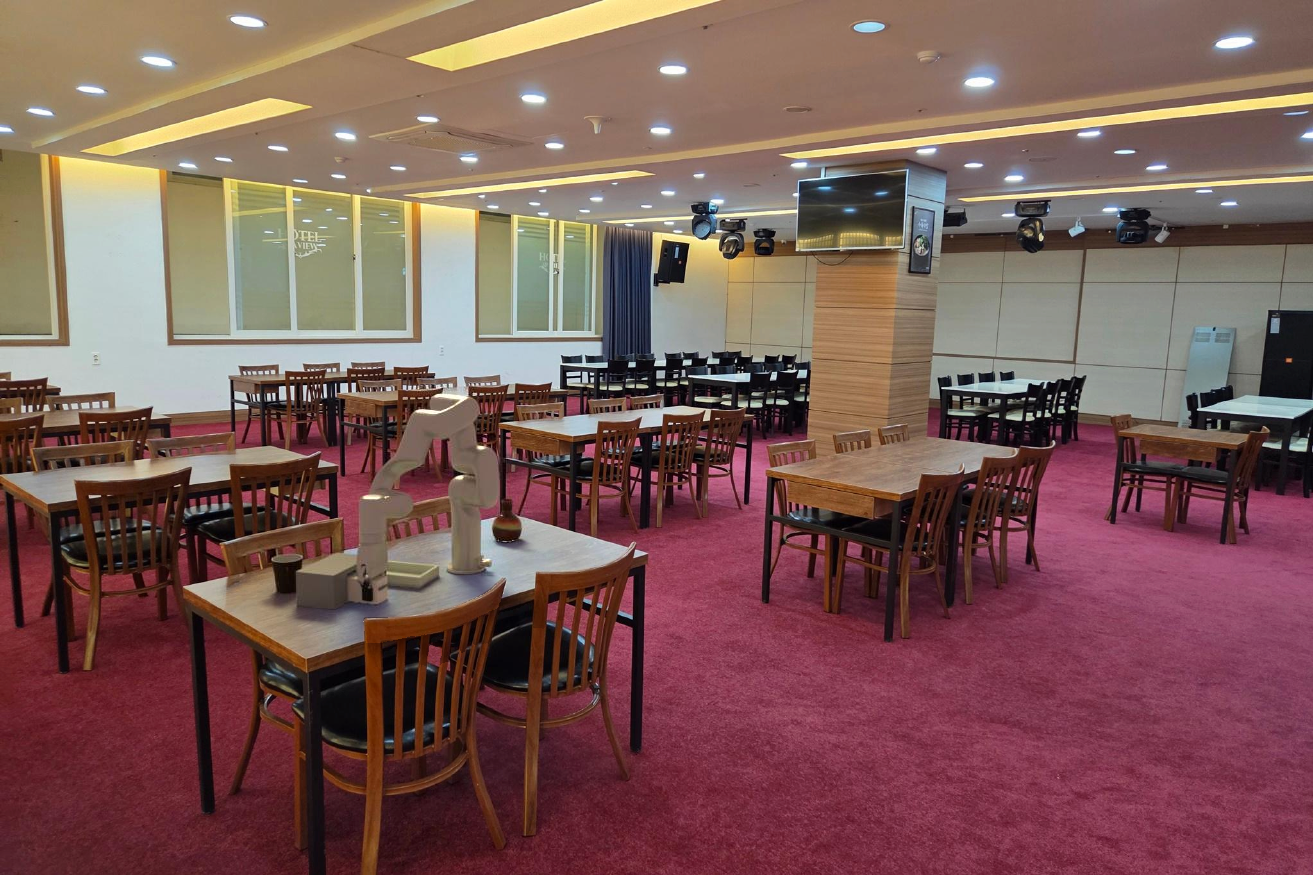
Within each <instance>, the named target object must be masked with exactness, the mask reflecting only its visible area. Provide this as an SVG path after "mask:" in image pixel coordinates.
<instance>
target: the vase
mask: <svg viewBox="0 0 1313 875" xmlns="http://www.w3.org/2000/svg"><path fill="white" fill-rule="evenodd" d="M513 502H514V500H513V499H512V498H503V499H502V500H501V510H502V511H501V513H499V514H498V515H497V516H496V517H495V518H494V520H493V523H492V525H491V531H492V536H493V537H494V539H495V540H496V541H497V540H499V541H512V540H517V539H518V538H520V537H521V534H522V529H523V525H522V522H521V519H520V518H519V517H518V515H516V514H515V513H513ZM518 540H519V539H518ZM518 540H517V541H518ZM499 541H498V542H499Z"/></svg>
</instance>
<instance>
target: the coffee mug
mask: <svg viewBox="0 0 1313 875" xmlns="http://www.w3.org/2000/svg"><path fill="white" fill-rule="evenodd" d="M303 559H304V557H303V555H301V554H296V553H286V554H279V555H275V556H274V557H272V558H271V564H272V565H271V566H272V570H273V571H272V572H273V577H274V583H275V588H276V592H277V593H278V594H280V595H281V594H282V595H283V594H285V595H287V594H294V593H296V571H298V570H300V569H302V568H303Z"/></svg>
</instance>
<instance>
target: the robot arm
mask: <svg viewBox="0 0 1313 875" xmlns="http://www.w3.org/2000/svg"><path fill="white" fill-rule="evenodd" d="M479 413H480V405H479V403H478V402H477V400H476V399H475V398H473V397H472V396H469V395H467V396H466V395H458V394H457V395H456V394H452V393H451V394H449V393H438V394H435V395H433V396H432V397H431V398H430V400H429V409H416V410H415V411H413V412H412V413H411V415H410V416H409V419H408V420H407V423H406V427H405V429H404V432H403V435H402V437H401V441H400V443H399V446H398V449H397V450H396V453H395V455H394V456H393V457H392V458H390V459H389V460H388V461H387V462H386V463H385V464H383V466H382V467H381V468H380V469H379V470H378V471H377V473H376V475H375V477H374V478H373V480H372V483H371V486H370V488H369V492H368V494H366V495H362V496H361V497H359V501H358V527H359V528H358V532H359V533H358V534H359V535H358V536H359V537H358V540H359V541H358V542H359V544H358V547H357V552H356V555H357V563H356V576H357V577H358V578H357V582H358V583H359V584H360V585H361V588H362V600H363V601H370V602H371V601H373V588H371V586H372V580H373V578H374V577H376V576H378V575H382V576H385V575H386V571H387V569H388V567H389V565H388V560H389V556H388V545H387V519H399V518H404V517H406V516H408V515H409V514H410V513H411V512H412V511H413V509H414V506H415V505H414V504H415V503H414V500H413V498H412V497H411V496H410V495H409V494H408V493H406V492H402V491H399V490H393V489H392V488H393V486H394V484H395V483H396V481H397V480H398V478H400V477H401V476H402V475H403V474H405V473H407V472H410V471H412V470H414V469H416V468H418V467H421V466H422V465H423V464H424V463H425V461H426V457H427V455H428V453H429V449H430V447H431V444H432V442H433V439H435V440H447V439H448V440H449V451H450V452H449V453H450V463H451V467H452V469H453V470H455V471H457V472H459V473H463V474H462V475H461V474H460V475H457V476H455V477H453V478H452V479H451V480H450V482H449V485H448V489H447V492H448V499H449V503H450V505H449V506H450V511H451V529H450V530H451V534H450V535H451V562H450V563H448V564H447V565H446V571H447V572H449V573H451V574H456V575H474V574H478V572H479V573H481V572H483V571H484V569H485V570H486V568H492V564H493V563H492V560H491V559H485V557H484V556H485V555H484V554H482V551H481V550H482V516H481V511H480V509H479V508H481V509H491V508H493V507H495V505H497V503H498V500H499V498H500V473H499V472H500V471H499V460H498V457H497V454H496V452H495V451H494V450H493V449H492V448H491V447H489V446H485V445H479V444H478V442H477V433H476V426H475V424H474V422H475V421H476V420H477V419H478V417H479ZM466 474H468V475H466ZM469 474H470V475H469ZM473 475H474V476H473ZM366 575H368V577H366ZM366 579H369V581H368V583H367V581H365V580H366Z"/></svg>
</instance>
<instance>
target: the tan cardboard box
mask: <svg viewBox="0 0 1313 875" xmlns="http://www.w3.org/2000/svg"><path fill="white" fill-rule="evenodd" d="M366 577H368V575H366ZM357 578H358V577H357V576H356V572H350V573H348V574H347V602H350V601H354V602H353V603H358V602H361V603H360V604H366V603H369V604H368V605H374V604H378V605H379V603H380V604H381V603H383V602H385V601H386V599H387V600H388V587H389V586H390V585H388V584H387V576H382V575H378V576H376V577H374V578H373V580H372V586H371V588H373V601H371V602H370V601H363V600H362V588H361V585H360V584H359V583H358V582H357ZM365 581H367V583H368V581H369V579H366V580H365Z"/></svg>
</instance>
